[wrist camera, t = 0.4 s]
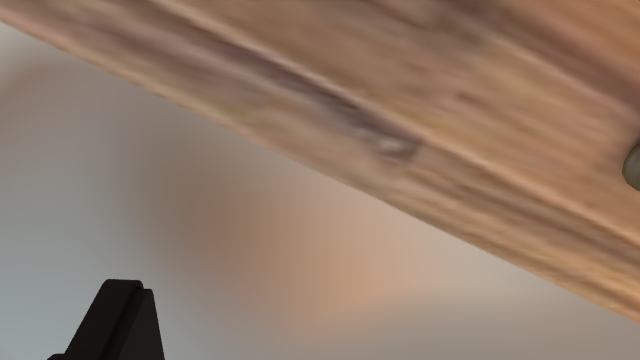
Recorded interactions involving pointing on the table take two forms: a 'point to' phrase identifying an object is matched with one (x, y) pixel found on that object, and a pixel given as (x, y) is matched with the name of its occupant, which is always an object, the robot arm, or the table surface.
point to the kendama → (633, 168)
